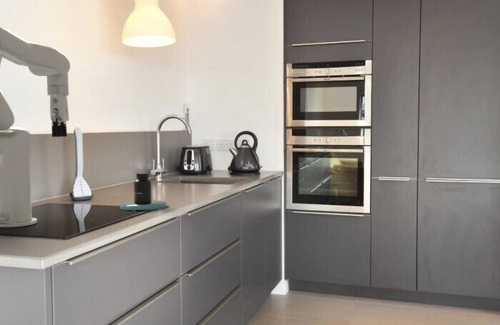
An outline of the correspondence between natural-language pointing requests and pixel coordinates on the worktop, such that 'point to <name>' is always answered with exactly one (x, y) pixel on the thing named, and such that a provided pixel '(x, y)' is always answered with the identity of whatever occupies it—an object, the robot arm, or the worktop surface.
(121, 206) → the dish
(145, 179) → the supplement bottle
